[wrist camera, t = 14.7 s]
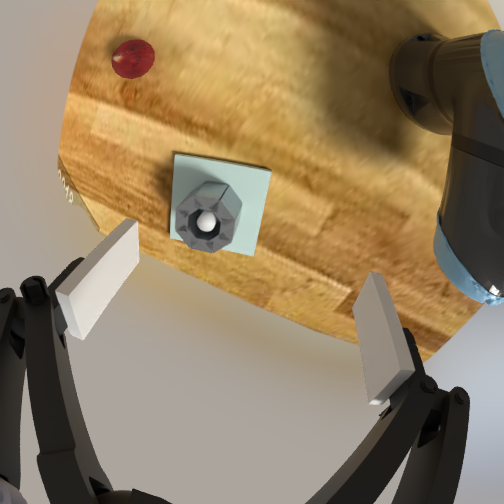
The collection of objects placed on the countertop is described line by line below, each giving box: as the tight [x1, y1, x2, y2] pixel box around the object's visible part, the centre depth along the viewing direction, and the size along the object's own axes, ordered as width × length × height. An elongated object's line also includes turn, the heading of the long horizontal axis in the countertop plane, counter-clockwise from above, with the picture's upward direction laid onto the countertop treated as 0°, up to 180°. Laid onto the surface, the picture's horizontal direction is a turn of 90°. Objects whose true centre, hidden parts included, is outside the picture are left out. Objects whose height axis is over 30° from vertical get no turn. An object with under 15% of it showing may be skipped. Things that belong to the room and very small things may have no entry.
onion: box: [112, 40, 154, 79], centre depth 28 cm, size 6×6×8 cm
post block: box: [170, 153, 272, 256], centre depth 40 cm, size 14×14×6 cm
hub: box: [175, 181, 243, 253], centre depth 39 cm, size 8×8×6 cm
